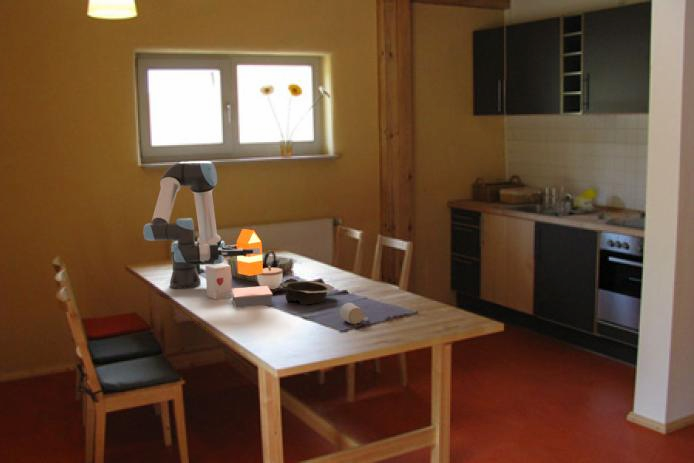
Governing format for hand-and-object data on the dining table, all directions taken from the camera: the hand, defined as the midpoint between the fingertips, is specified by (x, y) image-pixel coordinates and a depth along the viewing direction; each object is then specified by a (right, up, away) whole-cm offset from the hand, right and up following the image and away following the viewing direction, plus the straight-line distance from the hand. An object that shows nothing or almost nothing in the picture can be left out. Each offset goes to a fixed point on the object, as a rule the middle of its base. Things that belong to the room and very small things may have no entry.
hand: (258, 248), depth 362 cm
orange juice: (-4, -11, +1) cm, 12 cm away
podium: (-3, -24, +3) cm, 25 cm away
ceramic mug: (+43, -30, -35) cm, 63 cm away
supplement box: (-20, -23, +15) cm, 34 cm away
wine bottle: (-43, -15, +70) cm, 84 cm away
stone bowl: (+22, -24, +3) cm, 33 cm away
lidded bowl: (+3, -20, +29) cm, 35 cm away
